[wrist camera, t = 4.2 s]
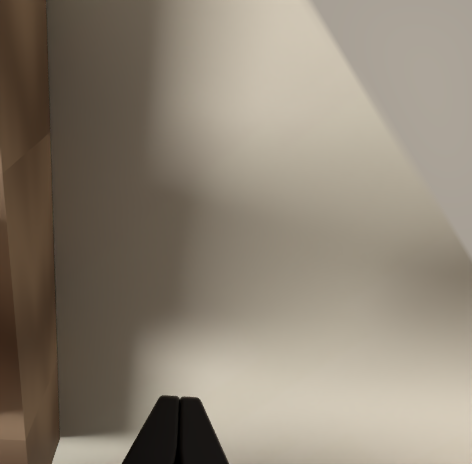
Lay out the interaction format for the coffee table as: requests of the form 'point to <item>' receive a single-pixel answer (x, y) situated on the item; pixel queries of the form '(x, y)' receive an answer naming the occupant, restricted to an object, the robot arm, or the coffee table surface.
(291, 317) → the coffee table surface
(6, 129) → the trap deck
